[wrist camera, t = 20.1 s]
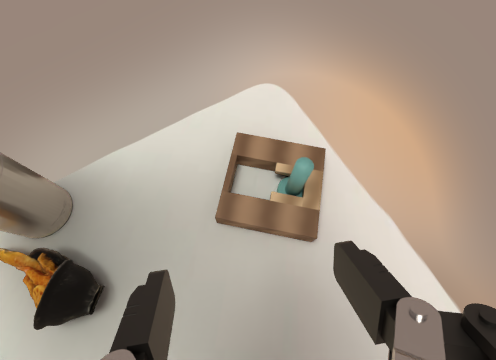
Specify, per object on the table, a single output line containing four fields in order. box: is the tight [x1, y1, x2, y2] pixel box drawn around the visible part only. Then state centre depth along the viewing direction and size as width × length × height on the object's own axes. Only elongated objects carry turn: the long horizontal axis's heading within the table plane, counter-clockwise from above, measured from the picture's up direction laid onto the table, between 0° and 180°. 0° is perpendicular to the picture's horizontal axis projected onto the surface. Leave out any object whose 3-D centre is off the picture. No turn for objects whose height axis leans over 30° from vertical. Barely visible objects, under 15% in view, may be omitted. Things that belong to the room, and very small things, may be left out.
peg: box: [277, 157, 314, 197], centre depth 41 cm, size 5×5×11 cm
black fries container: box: [0, 248, 105, 330], centre depth 36 cm, size 9×11×18 cm
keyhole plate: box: [215, 132, 325, 242], centre depth 45 cm, size 16×16×4 cm
